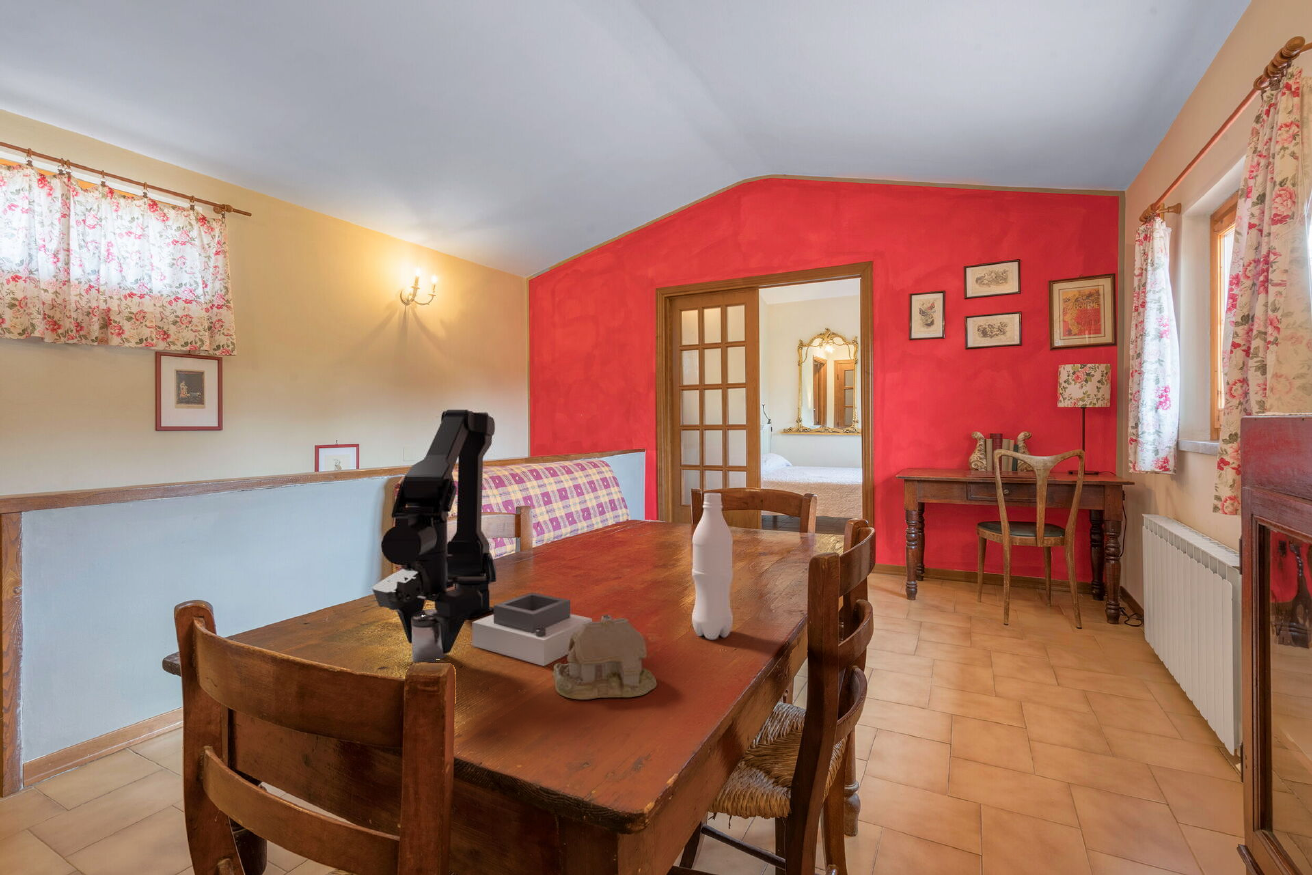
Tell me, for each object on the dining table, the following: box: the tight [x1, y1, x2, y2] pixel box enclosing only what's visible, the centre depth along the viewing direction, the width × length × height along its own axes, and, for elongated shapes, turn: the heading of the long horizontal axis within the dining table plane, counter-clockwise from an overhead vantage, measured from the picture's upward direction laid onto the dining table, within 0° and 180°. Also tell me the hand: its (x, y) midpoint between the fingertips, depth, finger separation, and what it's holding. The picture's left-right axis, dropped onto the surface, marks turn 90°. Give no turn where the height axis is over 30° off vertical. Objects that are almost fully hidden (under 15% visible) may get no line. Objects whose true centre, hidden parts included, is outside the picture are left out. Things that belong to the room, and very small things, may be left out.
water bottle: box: [691, 492, 734, 641], centre depth 104 cm, size 7×7×25 cm
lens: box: [411, 608, 447, 663], centre depth 94 cm, size 5×5×7 cm
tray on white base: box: [471, 592, 593, 667], centre depth 100 cm, size 16×12×7 cm
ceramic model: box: [552, 614, 658, 700], centre depth 84 cm, size 14×11×10 cm
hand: (429, 647), depth 94 cm, fingers open, 8 cm apart
